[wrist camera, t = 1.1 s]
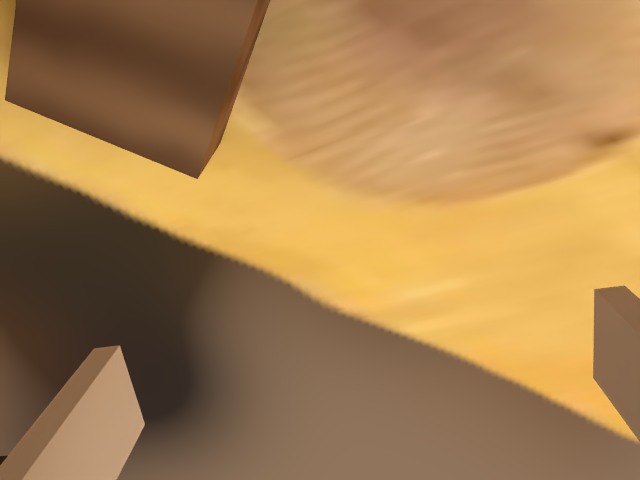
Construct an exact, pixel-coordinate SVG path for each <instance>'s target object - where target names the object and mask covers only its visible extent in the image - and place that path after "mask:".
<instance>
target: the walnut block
mask: <svg viewBox="0 0 640 480" xmlns="http://www.w3.org/2000/svg"><path fill="white" fill-rule="evenodd" d="M269 2H270V0H16V9H15V18H14V26H13V35H12V44H11V52H10V61H9V69H8V78H7V87H6V95H5V100H6V101H8V102H11V103H13V104H16V105H18V106H20V107H23V108H25V109H28V110H30V111H33V112H35V113H38V114H40V115H42V116H45V117H47V118H50V119H52V120H55V121H57V122H60V123H62V124H64V125H67V126H69V127H72V128H74V129H77V130H79V131H81V132H84V133H86V134H89V135H91V136H94V137H96V138H99V139H101V140H103V141H106V142H108V143H111V144H113V145H116V146H118V147H120V148H123V149H125V150H128V151H130V152H133V153H135V154H138V155H140V156H142V157H145V158H147V159H150V160H152V161H155V162H157V163H160V164H162V165H164V166H167V167H169V168H172V169H174V170H177V171H179V172H181V173H184V174H186V175H189V176H191V177H194V178H196V179H198V177H199V176H200V174H201V173H202V171H203V169H204V168H205V166H206V165H207V163H208V162H209V160H210V159H211V157H212V155H213V154H214V152H215V151H216V149H217V148H218V146H219V144H220V142H221V139H222V137H223V134H224V131H225V128H226V125H227V122H228V119H229V116H230V114H231V111H232V108H233V105H234V102H235V99H236V96H237V94H238V91H239V88H240V85H241V82H242V79H243V76H244V73H245V71H246V68H247V65H248V62H249V59H250V56H251V53H252V51H253V48H254V45H255V42H256V39H257V36H258V33H259V30H260V28H261V25H262V22H263V19H264V16H265V13H266V10H267V8H268V5H269Z"/></svg>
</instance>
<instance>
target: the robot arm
mask: <svg viewBox="0 0 640 480" xmlns="http://www.w3.org/2000/svg"><path fill="white" fill-rule="evenodd" d="M593 378H594V379H595V381H596V382H597V384H598V385H599V386H600V388H601V389H602V390H603V392H604V393H605V395H606V396H607V397H608V399H609V400H610V401H611V403H612V404H613V406H614V407H615V408H616V410H617V411H618V412H619V414H620V415H621V417H622V418H623V419H624V421H625V422H626V423H627V425H628V426H629V427H630V429H631V430H632V432H633V433H634V434H635V436H636V437H637V438H638V440H639V441H640V299H639V298H638V297H637V296H636V295H635V294H633V293H632V292H631V291H630V290H629V289H628V288H627V287H626V286H618V287H609V288H601V289H594V362H593ZM143 427H144V420H143V417H142V414H141V411H140V408H139V405H138V402H137V399H136V396H135V392H134V390H133V386H132V383H131V380H130V377H129V374H128V370H127V367H126V364H125V361H124V358H123V355H122V352H121V349H120V346H112V347H103V348H95V349H93V351H92V352H91V353H90V354H89V356H88V357H87V358H86V359H85V361H84V362H83V363H82V364H81V366H80V367H79V368H78V369H77V371H76V372H75V373H74V374H73V376H72V377H71V378H70V379H69V381H68V382H67V383H66V384H65V385H64V387H63V388H62V390H61V391H60V392H59V393H58V394H57V395H56V397H55V398H54V399H53V400H52V402H51V403H50V404H49V405H48V407H47V408H46V409H45V411H44V412H43V413H42V414H41V415H40V417H39V418H38V419H37V420H36V422H35V423H34V424H33V425H32V427H31V428H30V429H29V430H28V432H27V433H26V434H25V435H24V437H23V438H22V439H21V440H20V442H19V443H18V444H17V445H16V447H15V448H14V449H13V451H12V452H11V453H10V454H9V455H8V456H0V480H116V479H117V477H118V475H119V473H120V471H121V470H122V467H123V466H124V464H125V462H126V460H127V458H128V456H129V454H130V452H131V450H132V448H133V446H134V444H135V442H136V440H137V439H138V437H139V435H140V433H141V431H142V429H143Z"/></svg>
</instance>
